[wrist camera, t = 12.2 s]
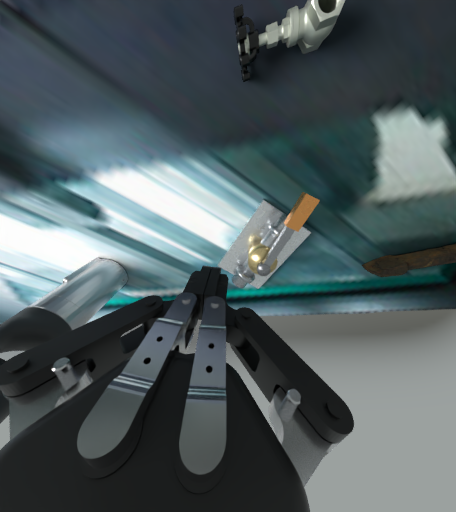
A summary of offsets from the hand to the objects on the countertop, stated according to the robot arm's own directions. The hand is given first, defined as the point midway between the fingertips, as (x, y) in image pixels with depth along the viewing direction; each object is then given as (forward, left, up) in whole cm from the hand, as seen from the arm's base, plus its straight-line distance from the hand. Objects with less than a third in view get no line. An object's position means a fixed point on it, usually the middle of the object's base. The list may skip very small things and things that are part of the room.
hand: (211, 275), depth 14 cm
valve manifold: (+10, -4, -24) cm, 27 cm away
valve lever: (+9, +2, -16) cm, 19 cm away
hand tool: (+38, +12, -25) cm, 47 cm away
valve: (-6, +23, -25) cm, 34 cm away
